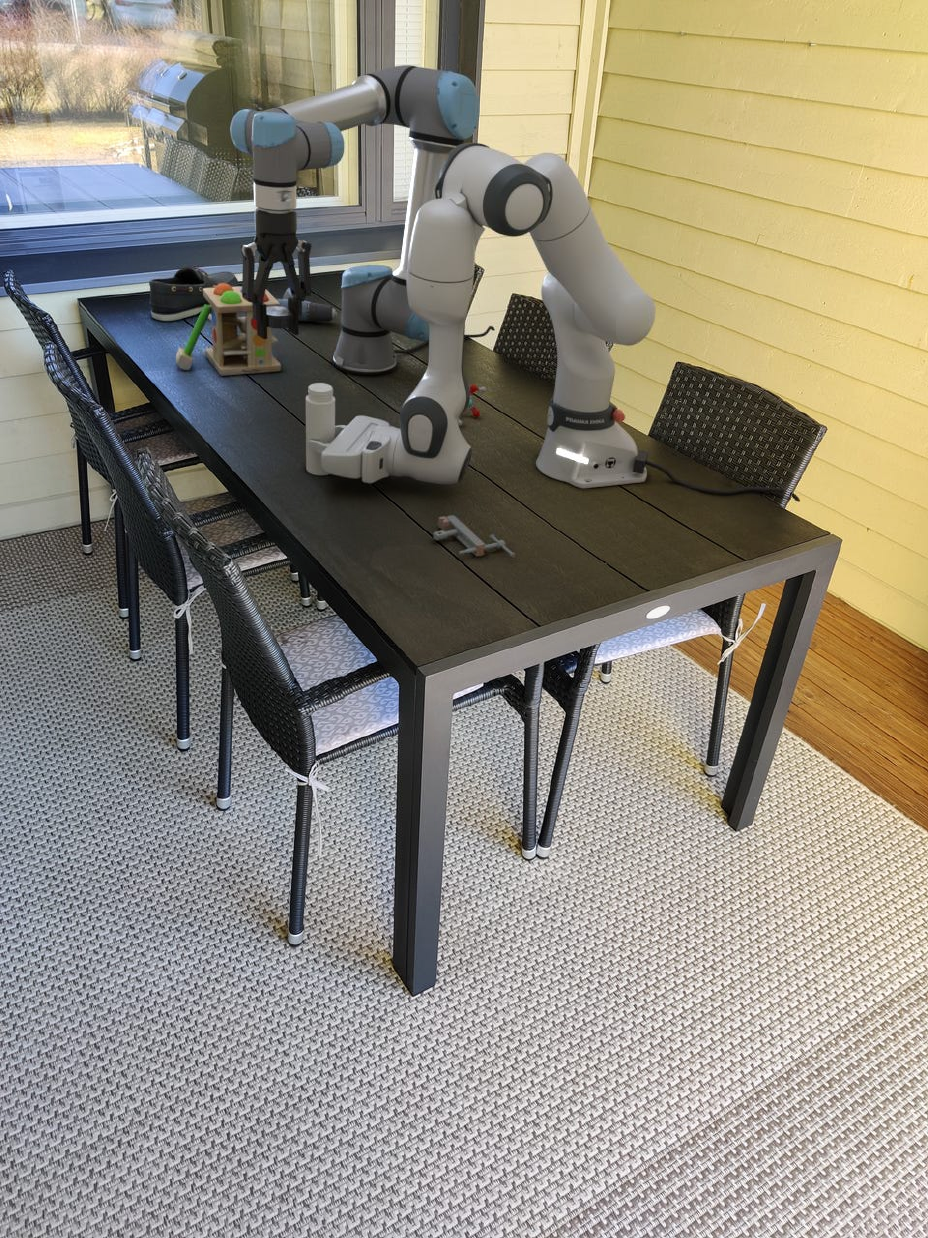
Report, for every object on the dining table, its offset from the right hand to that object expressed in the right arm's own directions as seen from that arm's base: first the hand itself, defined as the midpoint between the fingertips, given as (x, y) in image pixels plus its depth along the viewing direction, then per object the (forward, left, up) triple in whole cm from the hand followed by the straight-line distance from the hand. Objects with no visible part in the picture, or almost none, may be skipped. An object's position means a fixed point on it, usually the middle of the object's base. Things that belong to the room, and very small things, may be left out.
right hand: (315, 436), depth 186 cm
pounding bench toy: (+18, -55, -7) cm, 58 cm away
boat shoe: (+26, -99, -7) cm, 103 cm away
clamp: (-24, +31, -7) cm, 40 cm away
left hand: (+6, -17, +14) cm, 23 cm away
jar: (-1, 0, -7) cm, 7 cm away
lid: (+6, -17, +18) cm, 25 cm away
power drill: (-3, -95, -7) cm, 96 cm away
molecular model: (-32, -25, -7) cm, 41 cm away
